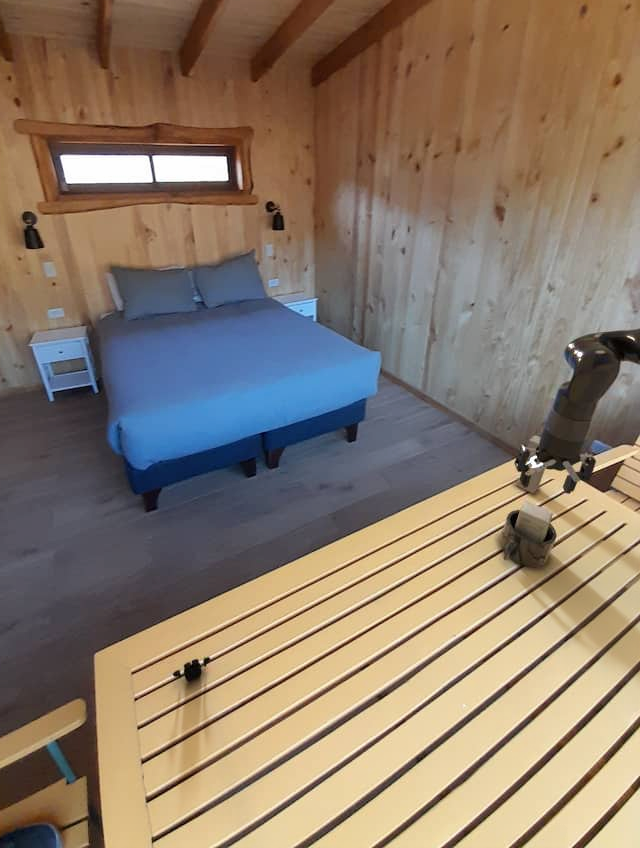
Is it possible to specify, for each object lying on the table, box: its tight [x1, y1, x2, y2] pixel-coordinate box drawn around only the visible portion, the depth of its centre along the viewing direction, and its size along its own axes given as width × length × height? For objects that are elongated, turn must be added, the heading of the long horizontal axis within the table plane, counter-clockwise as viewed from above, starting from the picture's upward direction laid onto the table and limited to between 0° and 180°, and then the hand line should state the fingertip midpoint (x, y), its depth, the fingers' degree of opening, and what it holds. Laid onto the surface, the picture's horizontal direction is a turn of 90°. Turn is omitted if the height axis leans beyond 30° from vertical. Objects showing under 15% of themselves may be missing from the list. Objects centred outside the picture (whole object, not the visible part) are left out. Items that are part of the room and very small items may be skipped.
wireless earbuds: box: [172, 656, 211, 682], centre depth 75 cm, size 7×2×5 cm, turn 113°
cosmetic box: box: [515, 500, 554, 542], centre depth 97 cm, size 6×4×12 cm
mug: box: [499, 509, 557, 568], centre depth 98 cm, size 14×10×8 cm
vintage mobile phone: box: [515, 434, 546, 494], centre depth 114 cm, size 4×5×25 cm
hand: (545, 488), depth 91 cm, fingers open, 8 cm apart
